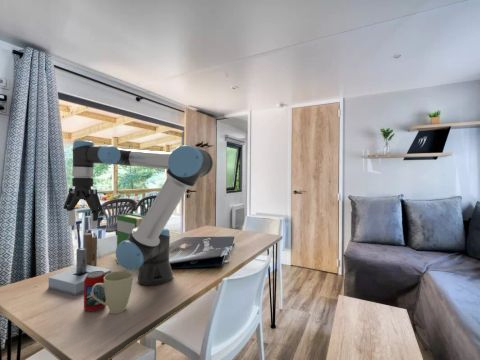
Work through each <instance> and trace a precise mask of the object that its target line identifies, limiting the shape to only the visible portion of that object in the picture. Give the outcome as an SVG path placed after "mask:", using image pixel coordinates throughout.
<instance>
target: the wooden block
mask: <svg viewBox="0 0 480 360" xmlns="http://www.w3.org/2000/svg"><path fill="white" fill-rule="evenodd" d="M83 248H87V261H86V265H91V266H95V267H96V265H97V264H98V258H97V257H98V256H97V255H98V253H97V252H98V251H97V250H98V237H97V236H95V237H94V236H93V233H89V232H88V233H84V234H83Z"/></svg>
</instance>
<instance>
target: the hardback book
mask: <svg viewBox="0 0 480 360" xmlns="http://www.w3.org/2000/svg"><path fill="white" fill-rule="evenodd" d="M145 216H146V215H139V214H134V213H123V214H117V218H116V220H117V221H116V225H117V227H116V247H117V246H118V245H119V244H120V243H121V242H122V241H125V240H127V239H128V237H129V235H130V233H131V232H132V230H133V229H134V228H137V227H139V226H140V224H141V222H142V221H143V219H144V217H145Z"/></svg>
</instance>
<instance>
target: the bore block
mask: <svg viewBox="0 0 480 360" xmlns="http://www.w3.org/2000/svg"><path fill="white" fill-rule="evenodd" d="M94 271H104V273H105V275H107V274H109V273H112V269H109V268H105V267H99V266H96V265H95V266H91V265H86V274H85V275H82V276H77V275H76V267H75V268H72V269H69V270H66V271H63V272H61V273H60V272H59V273H56V274H54V275H52V276H49V277H48V289H50V290H53V291H57V292H60V293H64V294H68V295H72V296H75V297H76V296H78V295H80V294H84V280H85V278H86V276H87V274H88V273H90V272H94Z"/></svg>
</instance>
